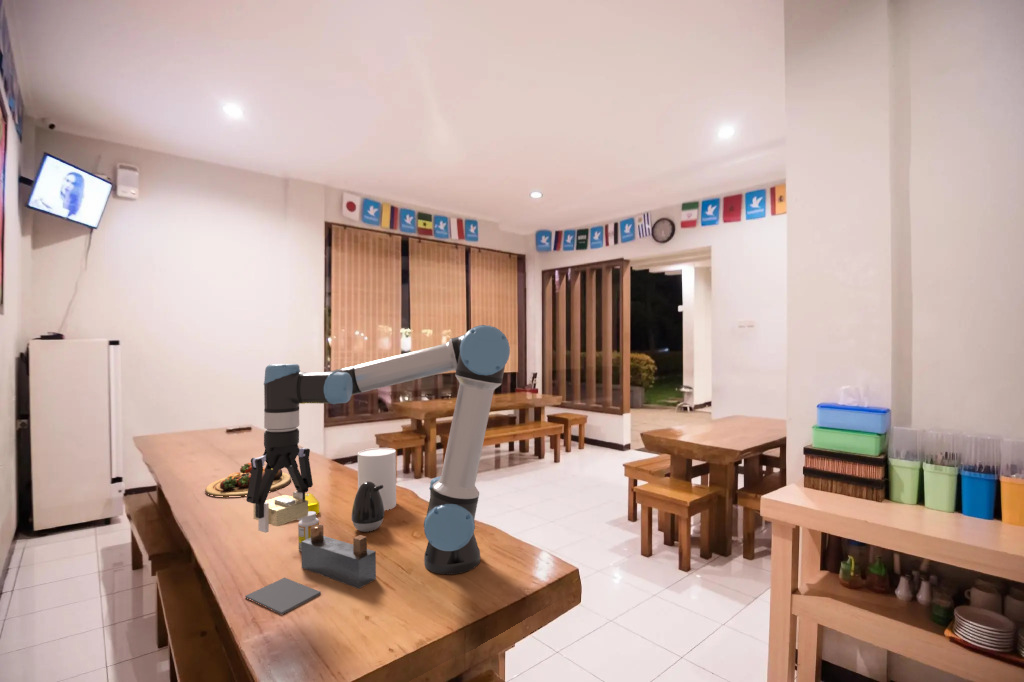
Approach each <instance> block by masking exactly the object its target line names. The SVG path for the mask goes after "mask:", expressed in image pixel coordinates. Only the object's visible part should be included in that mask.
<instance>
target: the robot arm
mask: <svg viewBox="0 0 1024 682" xmlns="http://www.w3.org/2000/svg"><path fill="white" fill-rule="evenodd" d="M510 350H511V347H510V343H509V340H508V338H507V337H506V335H505V333H504V332H503V331H502V330H501V329H498V328H497V327H495V326H491V325H485V324H480V325H477V326H473V327H472V328H470V329H469V330H468V331H467V332H466V333H464V334H461V335H459V336H456V337H452V338H449V340H448V341H447V342H446V343H443V344H439V345H434V346H431V347H427V348H422V349H417V350H413V351H410V352H406V353H405V352H404V353H401V354H397V355H393V356H388V357H384V358H380V359H376V360H371V361H367V362H364V363H360V364H356V365H352V366H351V365H349V366H347V367H341V368H338V369H335V370H329V371H320V372H319V371H317V372H315V371H313V372H308V371H307V372H306V371H305V372H304V371H301V370H300V365H299V364H297V363H272V364H269V365H267V366H266V367H265V370H264V381H263V386H264V387H263V388H264V389H263V395H264V397H263V399H264V401H263V402H264V410H263V411H264V414H263V415H264V419H263V420H264V422H263V424H264V426H263V427H264V429H265V431H264V432H263V447H264V452H263V454H262V455H260V456H258V457H252V458H250V463H251V466H252V470H251V476H250V482H249V488H248V494H247V497H246V500H245V501H246V503H247V502H248V503H250V504H253V505H254V504H255V516H256V518H259V520H258V527H257V528H258V531H259V532H262V533H268V532H269V530H270V529H269V527H270V524H269V503H267V502H265V501H266V500H268V499H267V498H268V496H269V493H270V492H269V491H270V488H271V486H272V483H273V480H274V478H275V475H276V474H277V473H278V471H279V470H280V469H281V470H283V469H287V471H288V474H289V475H290V477H291V481H292V484H293V486H294V488H295V490H296V491H293V492H292V496H293V497H296V498H299V499H303V500H305V494H306V493H307V492H309V488H312V487H313V485H314V482H313V478H312V477H313V476H312V475H313V474H312V471H311V462H310V452H311V449H310V448H306V447H300V448H299V443H300V429H299V428H298V427H299V426H300V404H301V405H305V404H327V405H328V404H332V405H337V404H346V403H349V401H350V400H351V398H352V396H353V395H357V394H361V393H365V392H370V391H373V390H377V389H382V388H385V387H389V386H394V385H398V384H402V383H405V382H406V383H407V382H411V381H415V380H418V379H422V378H426V377H431V376H435V375H439V374H443V373H447V372H452V371H455V374H454V376H455V377H456V380H457V381H458V382H459V386H458V390H457V396H456V400H455V405H454V411H453V414H452V420H451V424H450V429H449V434H448V439H447V445H446V450H445V455H444V460H443V464H442V469H441V474H440V476H436V477H434V478H432V479H431V480H430V484H429V492H430V493H429V495H430V496H429V497H430V498H429V502H428V507H427V511H426V516H425V518H424V521H423V528H424V529H423V530H424V535H425V538H426V540H427V541H428V542H427V545H426V549H425V552H424V556H423V557H424V560H423V561H424V567H425V568H426V569H427V570H428V571H430V572H432V573H435V574H440V575H455V574H462V573H466V572H468V571H471V570H473V569H475V568H476V567H477V566H478V565H479V564H480V563H481V551H480V548H479V545H478V542H477V539H476V535H475V533H474V532H475V529H476V525H475V523H476V522H475V518H476V512H477V507H478V503H479V502H478V501H479V497H480V491H479V489H478V488H477V487H476V481H477V475H478V470H479V467H480V466H479V465H480V462H481V458H482V457H481V455H482V451H483V446H484V441H485V437H486V432H487V425H488V422H489V416H490V411H491V406H492V400H493V396H494V392H495V390H496V389H498V388H499V387H500V386H501V385H502V384H503V378H504V373H505V367H506V364H508V360H509V358H510V354H511V353H510V352H511V351H510ZM297 457H298V463H297V460H296V459H297ZM265 463H266V464H265ZM298 464H299V465H298ZM264 466H265V470H264V471H265V474H264V476H263V479H262V473H263V468H264ZM271 468H272V469H273V470H271ZM261 479H262V481H261ZM296 520H297V521H300V520H303V517H302V518H299V519H296ZM296 520H295V521H296Z"/></svg>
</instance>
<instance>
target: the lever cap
mask: <svg viewBox="0 0 1024 682" xmlns="http://www.w3.org/2000/svg"><path fill="white" fill-rule="evenodd" d="M292 496H293V495H287V494H283V495H279V496H275V497H272V498H270V499H266V501H265V502H267V503H269V525H272V526H275V527H279V526H282V525H284V524H287V523H291V522H293V521H296V519H299V518H302V517H305V516H308V501H307V500H303V499H299V498H296V497H292ZM253 520H256V521H259V518H256V516H255V504H253Z"/></svg>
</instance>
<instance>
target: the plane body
mask: <svg viewBox="0 0 1024 682" xmlns="http://www.w3.org/2000/svg"><path fill="white" fill-rule="evenodd" d="M301 546H302V551H301V569H304V570H307V571H309V572H312V573H315V574H318V575H321V576H322V577H325V578H328V579H331V580H334V581H336V582H339V583H342V584H344V585H347V586H350V587H353V588H355V589H361V588H363V587H364V586H366V585H368V584H370V583H371V582H373V581H375V580H377V572H376V571H377V565H376V564H377V561H376V560H377V554H376V550H372V549H369V548H368V537H367V536H365V535H362V534H359V535H357V536H355V537H353V540H352V543H350V542H345V541H344V540H343V541H342V540H339V539H335V538H332V537H329V536H327V535H324V525H323V524H319V525H314V526H312V527H311V538H309V539H307V540H304V541H302V542H301Z"/></svg>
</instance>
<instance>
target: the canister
mask: <svg viewBox="0 0 1024 682" xmlns="http://www.w3.org/2000/svg"><path fill="white" fill-rule="evenodd" d="M365 482H373V483H374V484H375V485H376V486H380V485H383V488H382V489H380V490H379V492H380V495H381V498H382V501H383V506H384V512H386V511H385V510H387V511H390V510H392V509H394V508H395V507H397V450H396V449H395V448H391V447H390V448H389V447H373V448H366V449H363V450H360V451H358V452H357V490H358V489H359V487H360V486H361V485H362V484H363V483H365ZM389 509H390V510H389Z"/></svg>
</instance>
